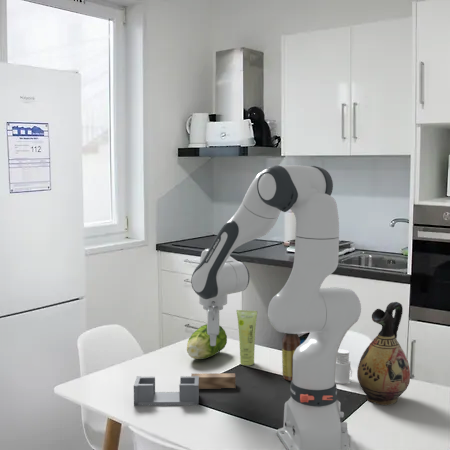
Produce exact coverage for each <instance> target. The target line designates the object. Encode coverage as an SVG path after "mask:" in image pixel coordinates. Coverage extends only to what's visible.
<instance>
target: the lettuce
mask: <svg viewBox="0 0 450 450" xmlns="http://www.w3.org/2000/svg"><path fill="white" fill-rule="evenodd" d="M227 342H228V337H227V333H226V331H225V329H224V328H223V327H222V325H219V335H217V336H216V345H215V346H210V335H208V334H207V323H206V324H203V325H201V326H200V327H199V328H198V329H196V330H195V331H194V332H193V333H192V334H191V335H190V336H189V338H188V340H187V344H186V345H187V346H186V353H187V354H188V356H190V357H191V358H192V359H196V360H205V359H208V358H210V357H213V356H215V355H217V354H218V353H219V352H221V351H222V350H224V348H225V347H226V345H227Z"/></svg>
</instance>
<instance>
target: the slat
mask: <svg viewBox="0 0 450 450" xmlns="http://www.w3.org/2000/svg"><path fill="white" fill-rule="evenodd" d="M190 376H199V390H203V389H204V390H205V389H206V390H207V389H208V390H209V389H210V390H212V389H214V390H215V389H216V390H217V389H218V390H220V389H221V388H235V389H236V373H235V372H234V373H233V372H231V373H230V372H228V373H221V372H219V373H203V372H202V373H191V375H190Z"/></svg>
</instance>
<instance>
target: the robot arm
mask: <svg viewBox="0 0 450 450" xmlns="http://www.w3.org/2000/svg"><path fill="white" fill-rule="evenodd" d="M333 189H334V181H333V178H332V176H331V174H330V173H329V172H328V171H327V170H326V169H324V168H322V167H320V166H315V165H311V166H310V165H309V166H308V165H299V164H287V165H273V166H269V167H267V168H265V169H263V170H262V171H260V172H258V174H257V175H256V176H255V177H254V179H252V182H251V183H250V185H249V187H248V189H247V191H246V192H245V195H244V197H243V198H242V201H241V203H240V205H239V207H238V209H237V210H236V211H235V213H234V214H233V216H232V217H230V219H229V220H227V222H226V223H225V224H224V225H223V226H222V227H221V228H220V230H219V232H218V233H217V235H216V236H215V238H214V240H213V242H212V243H211V245H210V247H209V248H205V249H204V250H202V252H201V254H200V259H199V264H198V265H197V266H196V267H195V268H194V270H193V273H192V274H191V280H190V282H191V283H190V285H191V287H192V289H193V291H194V293H195V294H197V296H198V299H199V301H198V303H199V305H201V306H203V307H202V308H203V310H205V311H206V316H207V317H206V318H207V320H206V322H207V323H206V324H207V334H208V335H210V346H215V345H216V336H217V335H219V326H220V311H221V310H223V309H224V306H227V304H228V295H231V294H236V293H241V292H244V291H245V290H246V289H247V287H248V286H249V283H250V280H251V279H250V271H249V269H248V267H247V265H246V264H245V263H243V262H242V261H238V260H236V259H235V258H234V257H232V256H231V254H232V253H233V251H235V250H236V249H237V248H239V247H240V246H243V245H244V244H247V243H248V242H252V241H253V240H254V241H255V240H258V239H260V238H262V237H264V236H266V235H268V233H269V232H271V230H272V229H273V228H274V227H275V225H276V223H277V221H278V218H279V216H280V214H281V212H283V213H287V212H288V211H289V210H290V211H291V212H293V214H294V216H295V238H294V239H295V243H294V258H293V264H292V270H291V272H290V274H289V277H288V279H287V281H286V282H285V284H284V286H283V287H282V288H281V289H280V291H279V292H278V293H276V294H275V295H274V296H273V297H272V298H271V300H270V301H269V304H268V308H267V316H268V317H267V318H268V321H269V324H271V327H272V328H273V329H274V330H275V331H276V332H277V333H282V334H285V333H289V334H298V335H300V334H308V333H309V334H308V336H307V338H305V340H304V341H303V342H302V343H300V346H298V347H297V348H296V350H295V351H294V354H293V379H292V381H290V386H289V390H290V398H288V400H286V401H285V403H284V408H283V409H284V410H283V427H279V428H278V429H276V430H277V431H276V436H277V437H278V438H279V439H280V441H281V443H282V444H283V445H284V447H285V449H286V450H350V439H349V430H348V422H346V421H341V418H344V417H345V413H344V411H341V402H340V401H339V400H338V389H337V388H338V387H337V383H335V369H336V357H337V353H338V349H340V346H341V344H342V342H343V339H344V337H345V336H346V334H347V332H348V331H349V330H350V329H351V328H352V327H353V326H354V325H355V324H356V323H357V322H358V320H359V319H360V317H361V313H362V303H361V300H360V298H359V297H358V295H357V293H356V292H355V291H354V290H353V289H351V288H345V287H338V286H332V287H321V286H322V284H323V283H324V281H325V280H326V278H328V277H329V276H330V275H332V274H333V273H334V272H335V271H336V270H337V268H338V265H339V255H340V254H339V253H340V252H339V249H340V248H339V247H340V221H339V219H340V217H339V212H338V205H337V202H336V200H335V198H334V197H333V196H332V193H333Z"/></svg>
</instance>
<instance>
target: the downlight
mask: <svg viewBox="0 0 450 450" xmlns="http://www.w3.org/2000/svg"><path fill="white" fill-rule="evenodd" d="M349 358H350V351H349V350H348V349H342V348H339V349H338V353H337V357H336V369H335V383H336V384H342V385H343V384H344V385H346V384H351V382H352V380H351V378H353V377H352V376H353V371H352V367H351V361H350V359H349ZM350 377H351V378H350Z"/></svg>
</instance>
